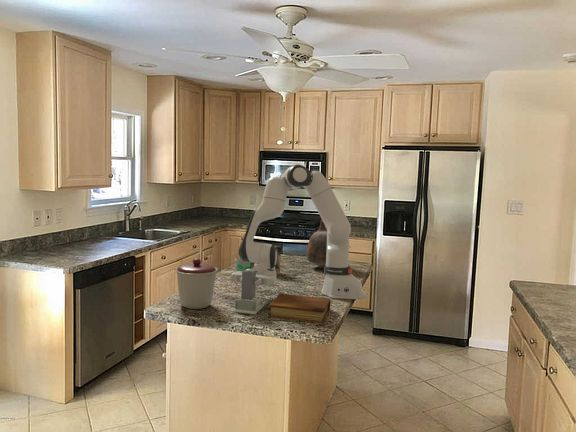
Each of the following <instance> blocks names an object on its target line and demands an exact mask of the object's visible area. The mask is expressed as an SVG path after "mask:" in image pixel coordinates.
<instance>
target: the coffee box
mask: <svg viewBox="0 0 576 432" xmlns="http://www.w3.org/2000/svg"><path fill="white" fill-rule="evenodd" d="M273 245H274V244H273ZM274 246H275V247H276V249H277V251H278V261H277V264H276V266H275V271H276V275H280V274H281V261H282V259H281V258H282V246H280V245H277V244H276V245H274Z"/></svg>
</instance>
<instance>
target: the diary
mask: <svg viewBox="0 0 576 432" xmlns="http://www.w3.org/2000/svg"><path fill="white" fill-rule="evenodd" d="M331 300H332V298H326V297H318V296H306V295H298V294H289V293H281V292H280V293H279V294H278V295H277V296H276V297H275V298H274V299H273V300H272V301H271V302H270V303H269V305H268V307H270V314H268V317H269V318H270V317H271V318H277V319H278V318H279V319H288V320H295V321H296V320H297V321H305V322H313V323H319V324H320V323H321V324H323V323H324V322H325V320H326V318H327V316H328V315H329V313H330V311H331V303H332V302H331ZM327 314H328V315H327Z"/></svg>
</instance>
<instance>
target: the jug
mask: <svg viewBox="0 0 576 432" xmlns="http://www.w3.org/2000/svg"><path fill="white" fill-rule="evenodd" d="M307 243H308V244H307V245H306V246H307V248H306V259H307V261H308V262H309V263H311V264H314V265H316V266H318V267H319V268H321V269H323V270H325V265H326V252H327V228H326V226H325V224H324V222H323V220H322V219H321V220H320V222H319V228H318V230H317V231H315V232H313V234H312V235H311V236H310V238H309V240H308V242H307Z"/></svg>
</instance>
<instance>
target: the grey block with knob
mask: <svg viewBox="0 0 576 432" xmlns="http://www.w3.org/2000/svg"><path fill="white" fill-rule="evenodd" d="M254 280H256V270H251V269H245V270H244V271H242V283H241V295H240V298H241V299H245V300H252V301H253V299H255V298H256V285H253V281H254Z"/></svg>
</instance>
